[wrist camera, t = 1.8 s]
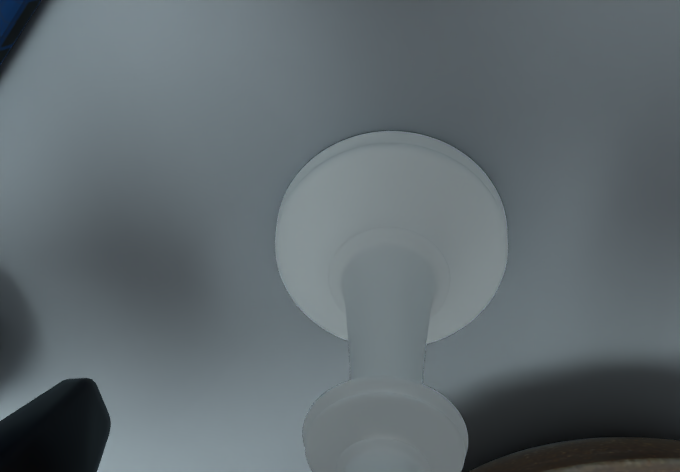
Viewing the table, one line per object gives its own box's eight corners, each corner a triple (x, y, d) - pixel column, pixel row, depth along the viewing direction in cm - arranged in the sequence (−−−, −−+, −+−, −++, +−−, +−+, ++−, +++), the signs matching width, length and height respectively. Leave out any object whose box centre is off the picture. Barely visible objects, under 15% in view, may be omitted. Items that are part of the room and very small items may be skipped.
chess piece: (234, 191, 12) (-212, 878, 3) (451, 86, 11) (713, 795, 2) (342, 359, 14) (245, 1091, 5) (539, 288, 12) (884, 1129, 4)
